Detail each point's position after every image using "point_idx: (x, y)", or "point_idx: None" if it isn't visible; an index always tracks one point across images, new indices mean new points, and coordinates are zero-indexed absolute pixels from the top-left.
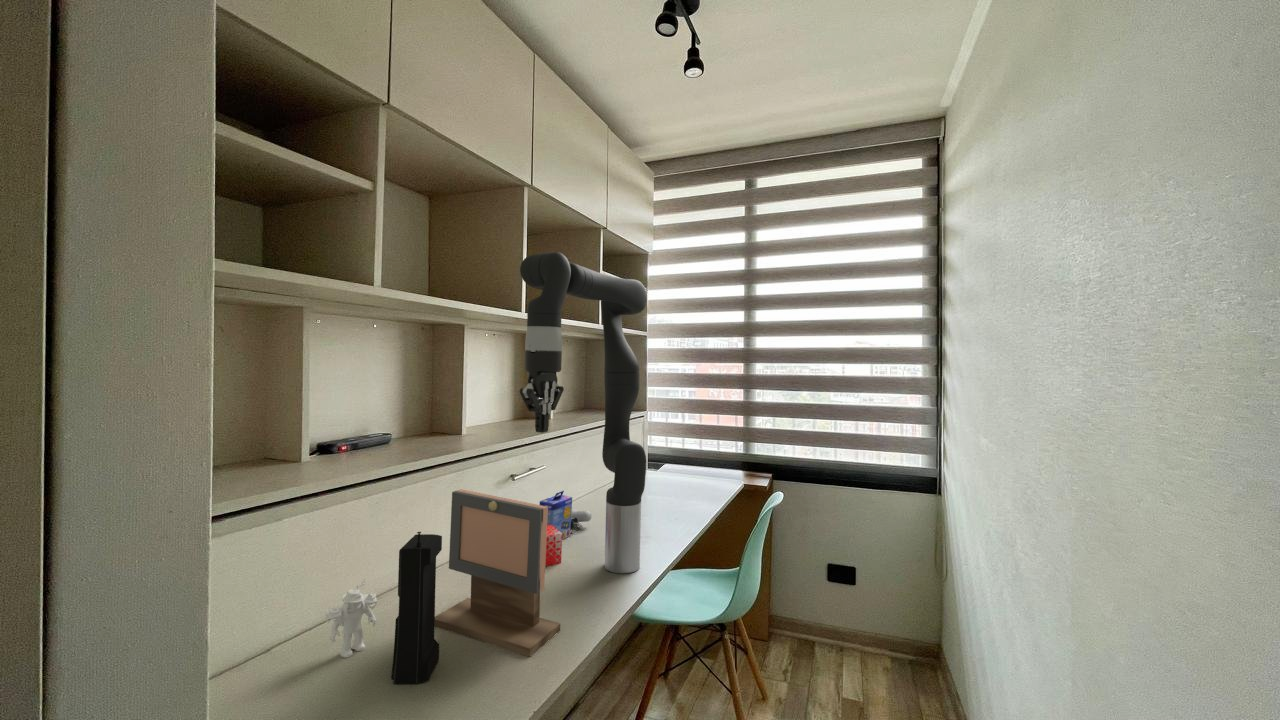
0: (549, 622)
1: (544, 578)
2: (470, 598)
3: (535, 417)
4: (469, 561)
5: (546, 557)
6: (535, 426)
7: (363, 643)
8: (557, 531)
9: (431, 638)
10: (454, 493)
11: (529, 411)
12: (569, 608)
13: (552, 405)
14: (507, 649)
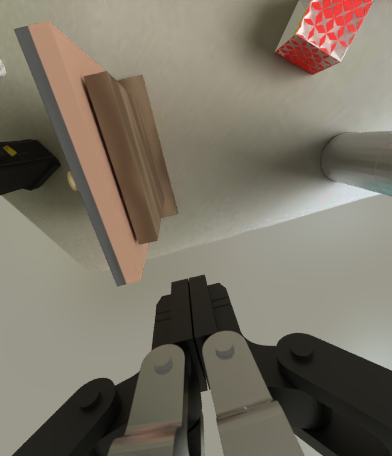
0: (171, 204)
1: None
2: (143, 80)
3: (153, 344)
4: None
5: (304, 52)
6: (156, 310)
7: (2, 67)
8: (345, 45)
9: (38, 168)
10: (19, 41)
11: (89, 384)
12: (217, 185)
13: (298, 434)
14: None
